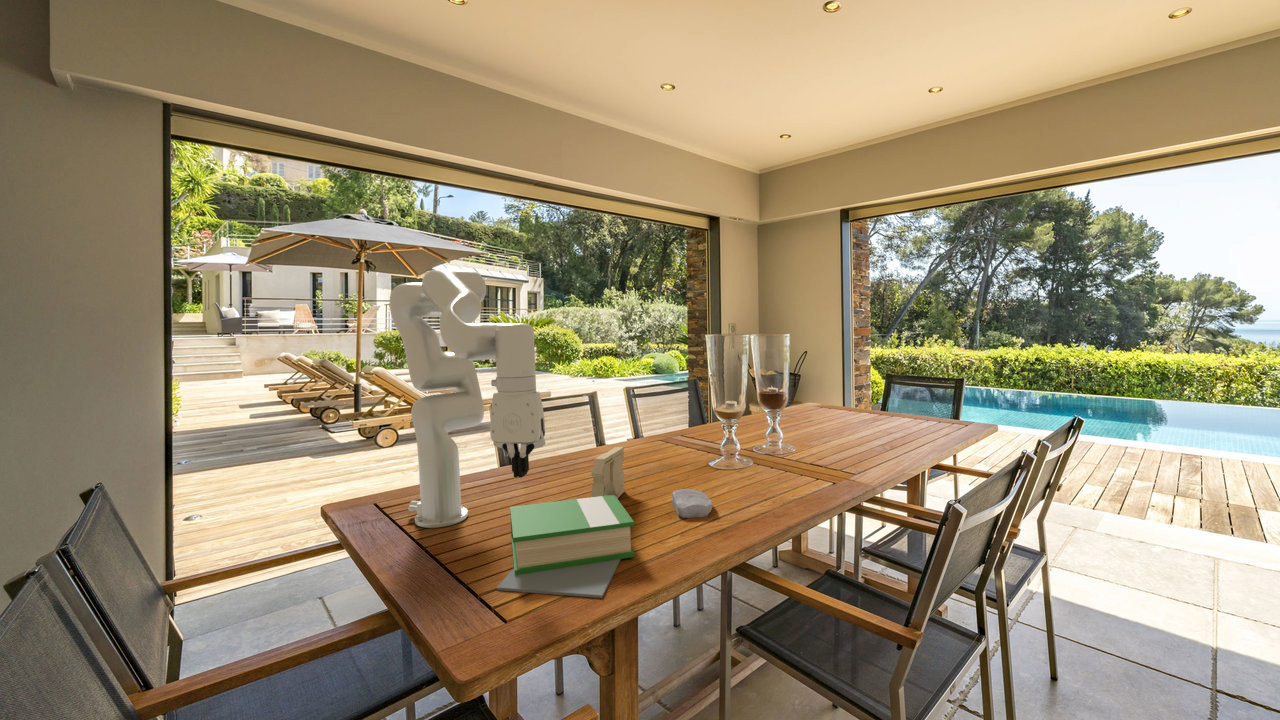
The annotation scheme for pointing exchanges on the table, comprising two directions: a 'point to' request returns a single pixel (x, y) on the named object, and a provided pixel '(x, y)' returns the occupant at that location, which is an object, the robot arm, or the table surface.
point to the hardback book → (569, 533)
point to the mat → (564, 580)
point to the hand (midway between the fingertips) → (520, 475)
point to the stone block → (691, 503)
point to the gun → (608, 473)
